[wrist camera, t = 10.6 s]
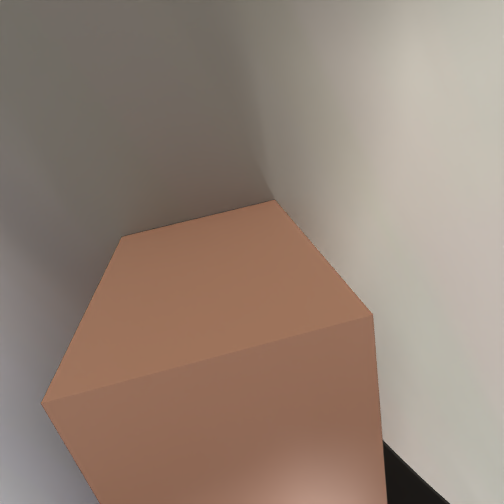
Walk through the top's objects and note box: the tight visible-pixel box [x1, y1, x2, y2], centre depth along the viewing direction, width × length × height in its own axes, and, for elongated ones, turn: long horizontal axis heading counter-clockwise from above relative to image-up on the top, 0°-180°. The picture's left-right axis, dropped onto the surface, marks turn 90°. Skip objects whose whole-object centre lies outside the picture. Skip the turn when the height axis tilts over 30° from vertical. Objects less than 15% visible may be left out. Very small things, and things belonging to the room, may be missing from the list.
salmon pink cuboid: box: [41, 200, 387, 504], centre depth 9 cm, size 12×4×5 cm, turn 11°
